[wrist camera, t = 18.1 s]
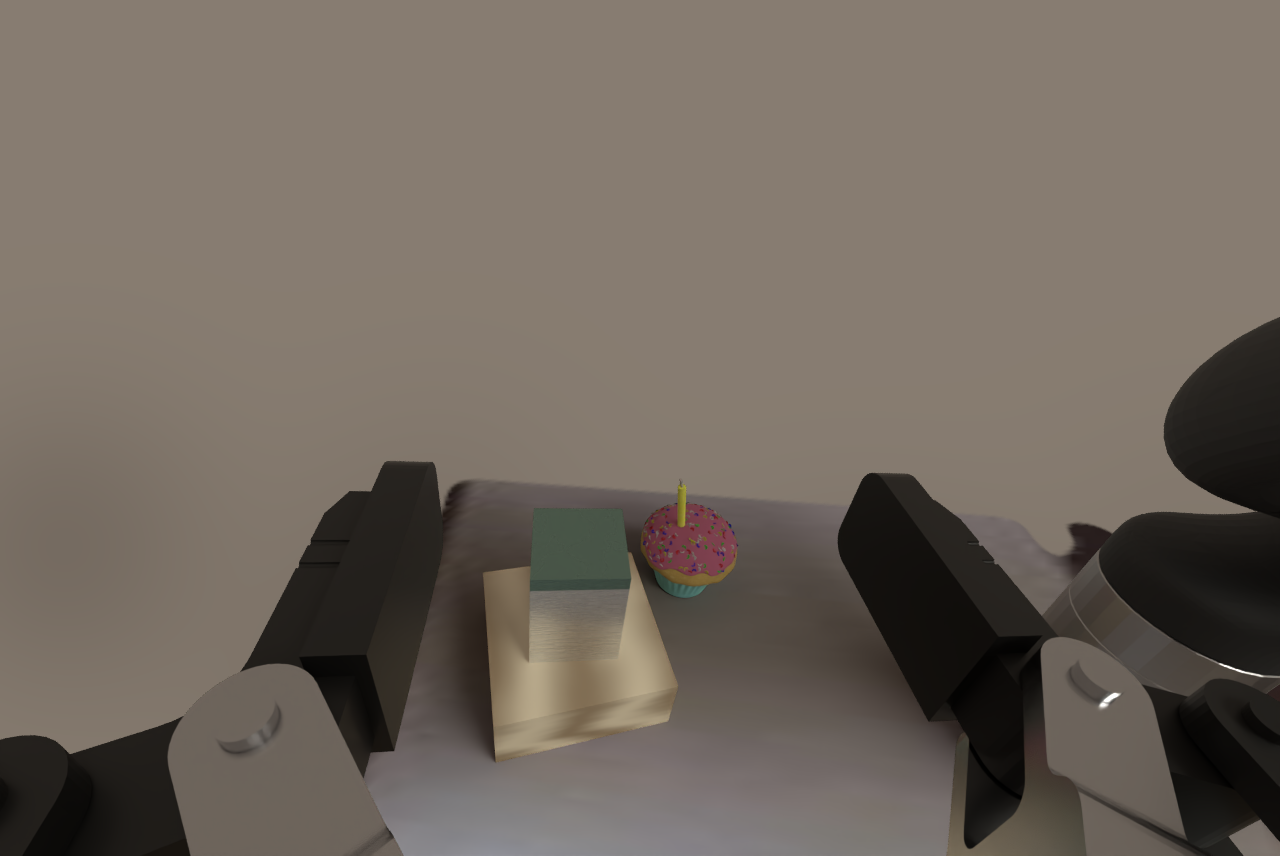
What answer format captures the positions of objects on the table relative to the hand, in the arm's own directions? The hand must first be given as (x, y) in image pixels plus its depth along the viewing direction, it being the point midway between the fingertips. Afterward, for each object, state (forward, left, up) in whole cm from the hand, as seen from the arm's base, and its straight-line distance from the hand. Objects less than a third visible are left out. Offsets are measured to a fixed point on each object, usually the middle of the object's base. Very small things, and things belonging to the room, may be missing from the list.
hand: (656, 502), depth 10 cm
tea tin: (+10, -14, -27) cm, 32 cm away
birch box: (+9, -14, -32) cm, 36 cm away
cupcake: (+6, -26, -32) cm, 42 cm away
